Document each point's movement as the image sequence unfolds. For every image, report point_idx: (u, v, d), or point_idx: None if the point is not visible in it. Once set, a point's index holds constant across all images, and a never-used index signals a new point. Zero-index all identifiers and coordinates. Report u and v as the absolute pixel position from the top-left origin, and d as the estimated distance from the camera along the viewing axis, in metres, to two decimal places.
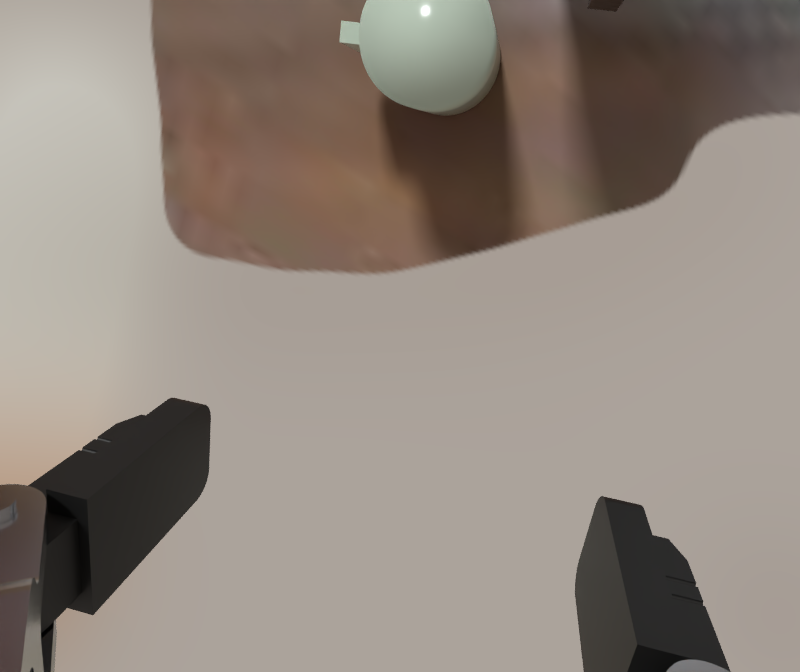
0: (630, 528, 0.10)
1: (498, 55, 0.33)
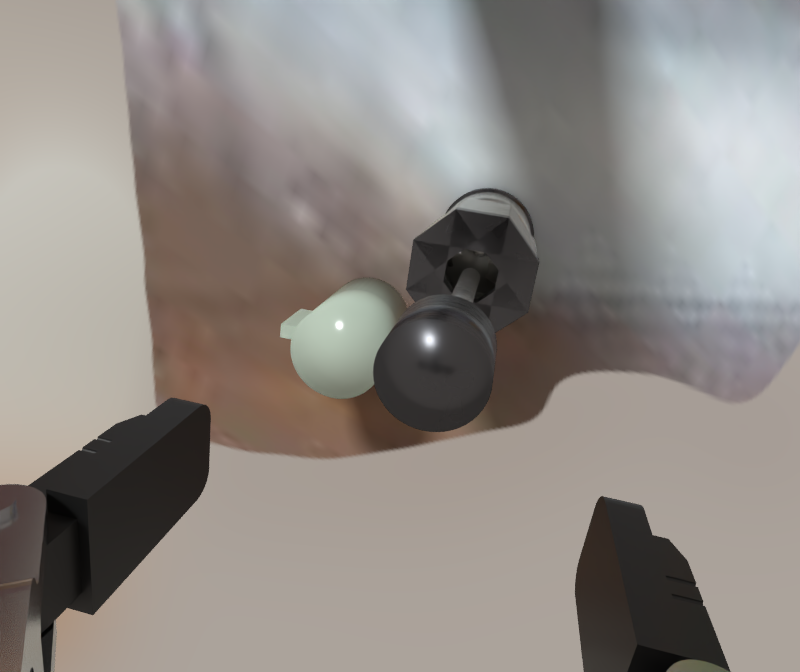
0: (630, 528, 0.10)
1: None
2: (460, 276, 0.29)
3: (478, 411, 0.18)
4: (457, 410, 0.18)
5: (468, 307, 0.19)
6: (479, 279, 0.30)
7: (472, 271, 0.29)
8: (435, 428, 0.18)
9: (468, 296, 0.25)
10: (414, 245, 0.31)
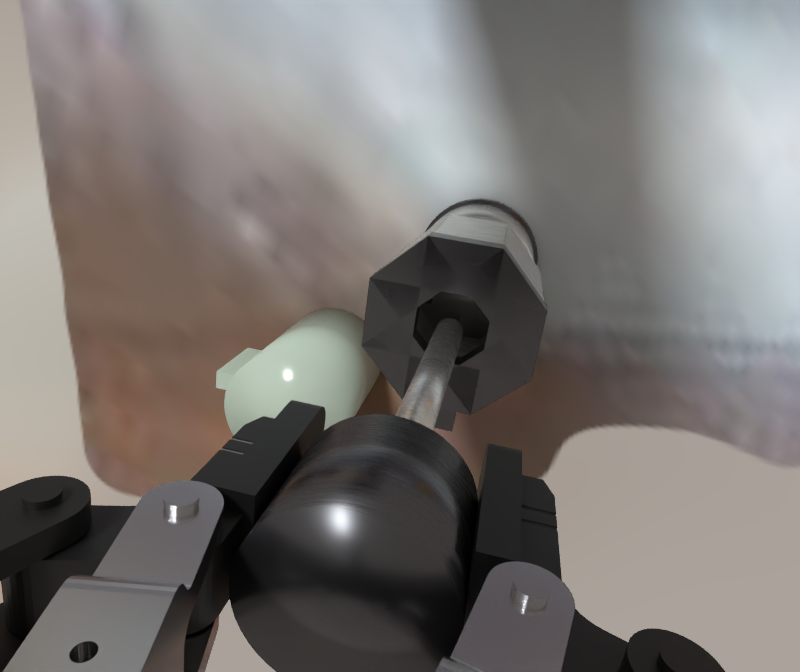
0: (503, 467, 0.11)
1: (372, 376, 0.36)
2: (434, 333, 0.20)
3: None
4: None
5: (423, 447, 0.10)
6: (462, 335, 0.21)
7: (451, 324, 0.21)
8: None
9: (440, 377, 0.16)
10: (371, 285, 0.22)
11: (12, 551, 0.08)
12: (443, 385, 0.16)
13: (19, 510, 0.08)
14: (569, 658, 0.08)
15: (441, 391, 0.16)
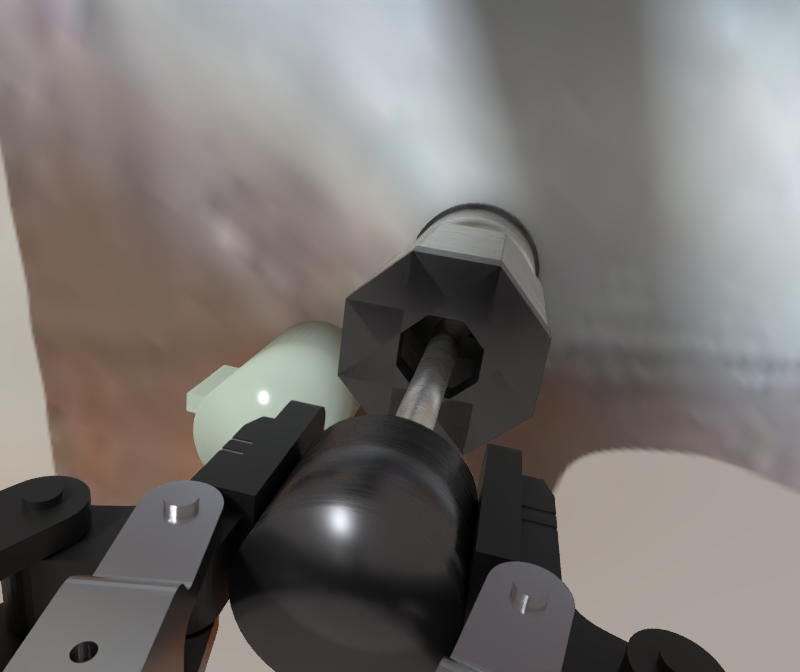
0: (503, 467, 0.11)
1: None
2: (434, 332, 0.20)
3: None
4: None
5: (423, 447, 0.10)
6: (462, 334, 0.21)
7: (452, 323, 0.21)
8: None
9: (440, 376, 0.16)
10: (347, 307, 0.19)
11: (12, 552, 0.08)
12: (443, 384, 0.16)
13: (19, 510, 0.08)
14: (569, 658, 0.08)
15: (441, 390, 0.16)
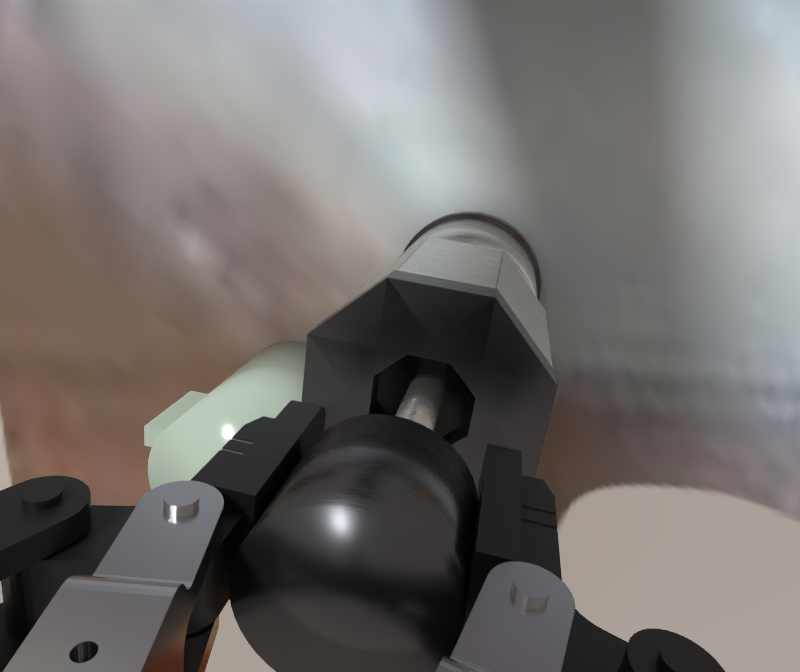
0: (503, 467, 0.11)
1: None
2: None
3: None
4: None
5: (423, 447, 0.10)
6: None
7: None
8: None
9: (440, 377, 0.16)
10: (310, 344, 0.16)
11: (12, 552, 0.08)
12: (443, 385, 0.16)
13: (19, 510, 0.08)
14: (569, 658, 0.08)
15: (441, 391, 0.16)
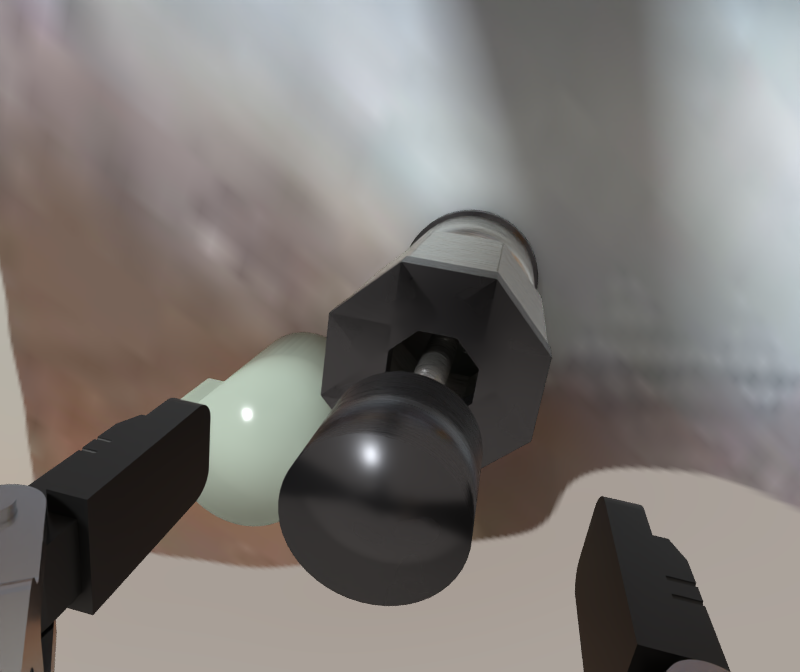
0: (630, 528, 0.10)
1: None
2: None
3: (449, 579, 0.11)
4: (415, 576, 0.11)
5: (437, 396, 0.12)
6: None
7: None
8: (380, 600, 0.11)
9: (447, 352, 0.18)
10: (331, 322, 0.17)
11: None
12: (450, 359, 0.18)
13: None
14: None
15: (448, 364, 0.18)
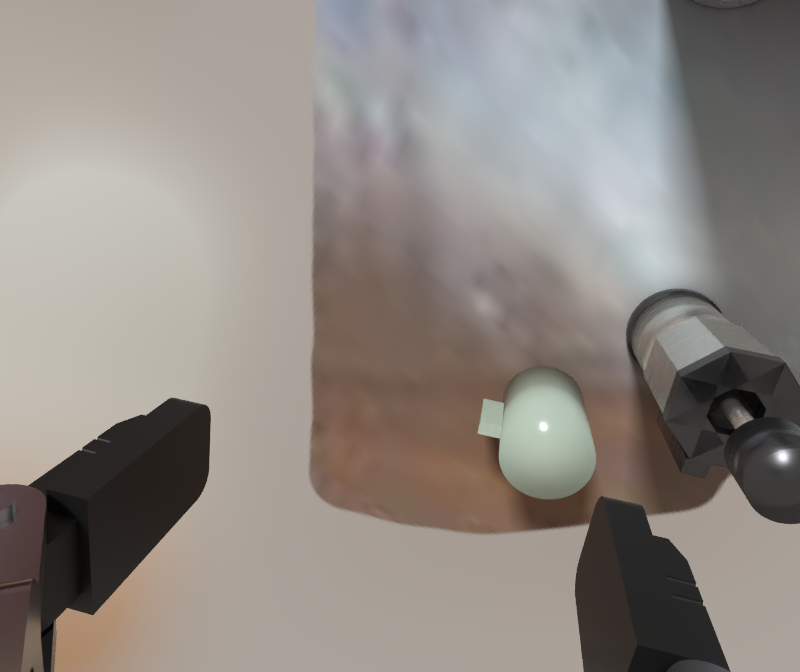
0: (630, 528, 0.10)
1: None
2: None
3: None
4: None
5: None
6: None
7: None
8: (788, 521, 0.25)
9: None
10: (681, 382, 0.31)
11: None
12: (739, 402, 0.32)
13: None
14: None
15: None
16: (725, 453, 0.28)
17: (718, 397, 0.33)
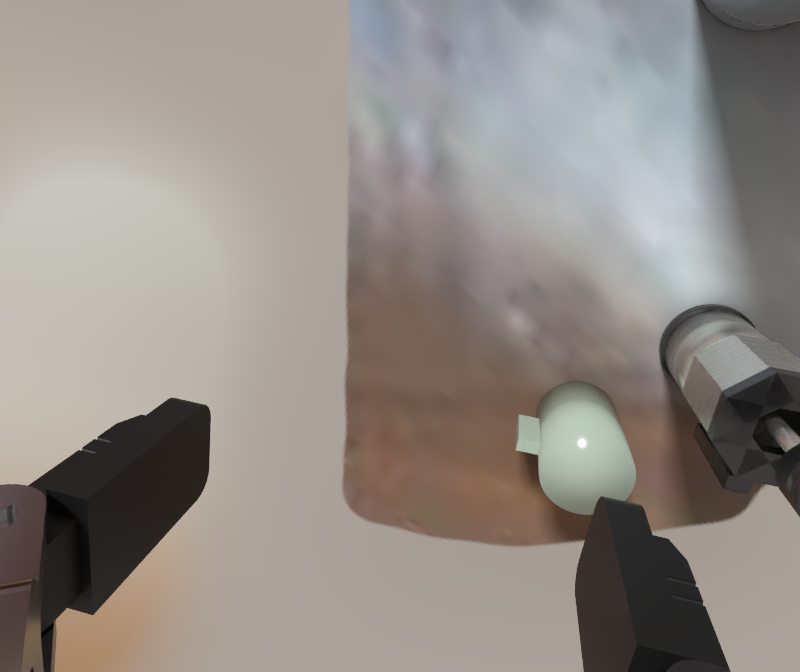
0: (630, 528, 0.10)
1: None
2: None
3: None
4: None
5: None
6: None
7: None
8: None
9: (780, 416, 0.33)
10: (727, 402, 0.32)
11: None
12: None
13: None
14: None
15: None
16: (777, 474, 0.28)
17: (762, 416, 0.34)
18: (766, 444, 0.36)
